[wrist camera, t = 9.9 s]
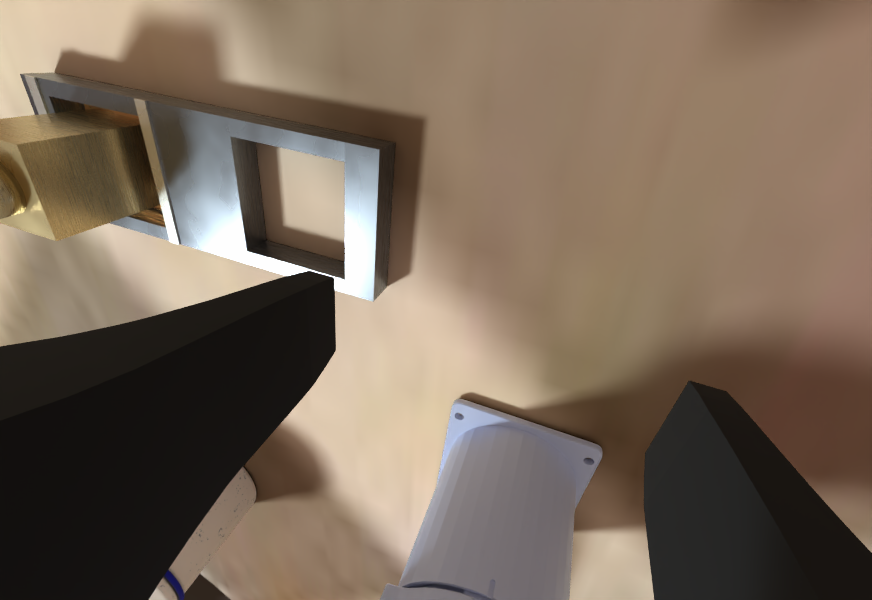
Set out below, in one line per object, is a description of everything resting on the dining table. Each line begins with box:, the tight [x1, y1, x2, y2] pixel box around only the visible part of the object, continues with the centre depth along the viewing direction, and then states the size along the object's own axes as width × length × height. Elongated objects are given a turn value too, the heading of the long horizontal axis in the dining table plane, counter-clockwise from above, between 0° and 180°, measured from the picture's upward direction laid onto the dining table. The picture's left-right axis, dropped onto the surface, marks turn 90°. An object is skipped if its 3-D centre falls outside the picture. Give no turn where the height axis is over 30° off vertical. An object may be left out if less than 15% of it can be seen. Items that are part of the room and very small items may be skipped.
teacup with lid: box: [149, 467, 256, 600], centre depth 33 cm, size 12×9×12 cm
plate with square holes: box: [20, 73, 395, 301], centre depth 21 cm, size 7×19×2 cm, turn 83°
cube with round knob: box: [0, 109, 160, 241], centre depth 19 cm, size 4×4×7 cm
